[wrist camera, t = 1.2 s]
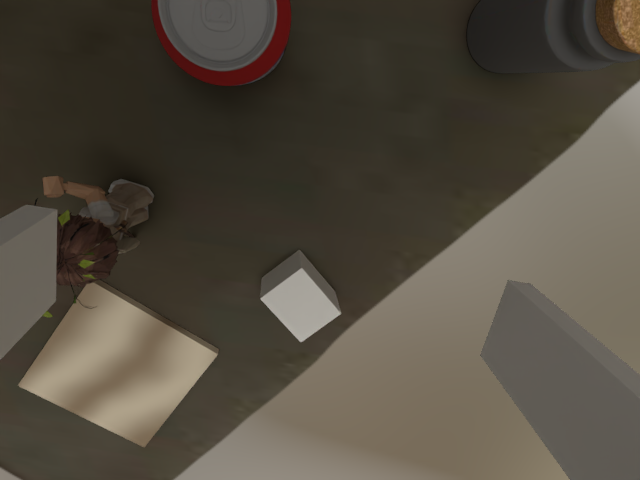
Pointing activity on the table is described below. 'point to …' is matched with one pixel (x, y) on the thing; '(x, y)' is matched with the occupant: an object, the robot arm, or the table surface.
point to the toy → (95, 228)
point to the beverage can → (224, 37)
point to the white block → (299, 296)
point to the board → (118, 363)
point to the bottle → (553, 34)
